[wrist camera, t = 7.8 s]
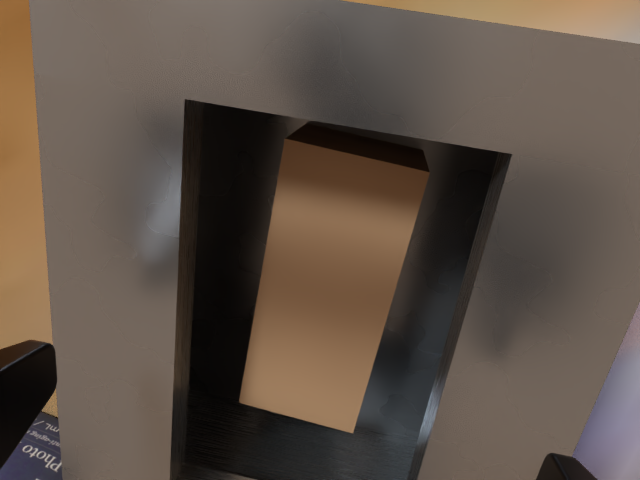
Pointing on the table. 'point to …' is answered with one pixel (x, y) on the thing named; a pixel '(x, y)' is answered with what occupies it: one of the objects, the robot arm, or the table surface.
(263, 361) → the tan rectangular block
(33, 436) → the small box
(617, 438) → the table surface
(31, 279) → the table surface
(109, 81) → the grey slotted block
